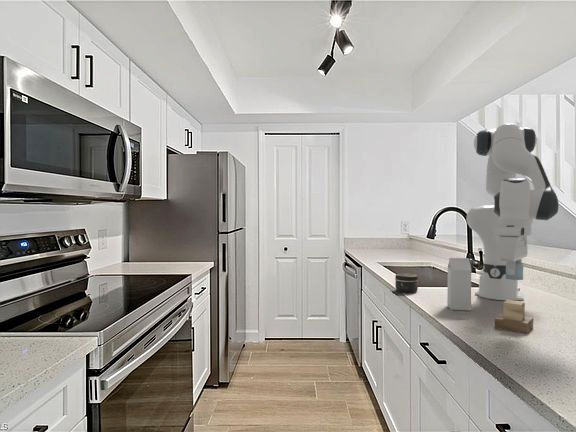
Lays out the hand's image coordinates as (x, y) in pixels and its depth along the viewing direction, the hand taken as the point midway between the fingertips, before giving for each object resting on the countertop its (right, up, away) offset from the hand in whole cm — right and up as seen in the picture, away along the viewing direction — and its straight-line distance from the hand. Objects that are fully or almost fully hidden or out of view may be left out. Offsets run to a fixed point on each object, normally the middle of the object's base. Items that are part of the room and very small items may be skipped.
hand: (514, 273), depth 132 cm
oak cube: (0, -14, 0) cm, 14 cm away
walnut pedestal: (0, -17, 0) cm, 17 cm away
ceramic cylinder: (0, -2, 0) cm, 2 cm away
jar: (-17, -17, +60) cm, 65 cm away
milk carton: (-7, -17, +27) cm, 32 cm away
